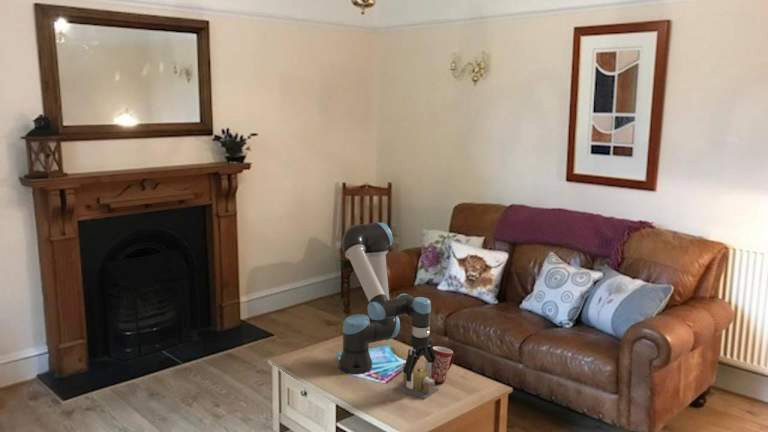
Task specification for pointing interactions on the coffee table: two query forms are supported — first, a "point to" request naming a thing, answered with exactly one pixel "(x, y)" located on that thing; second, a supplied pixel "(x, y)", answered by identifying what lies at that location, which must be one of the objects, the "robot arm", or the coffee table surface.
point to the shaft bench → (428, 390)
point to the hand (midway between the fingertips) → (418, 381)
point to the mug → (441, 363)
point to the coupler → (419, 378)
